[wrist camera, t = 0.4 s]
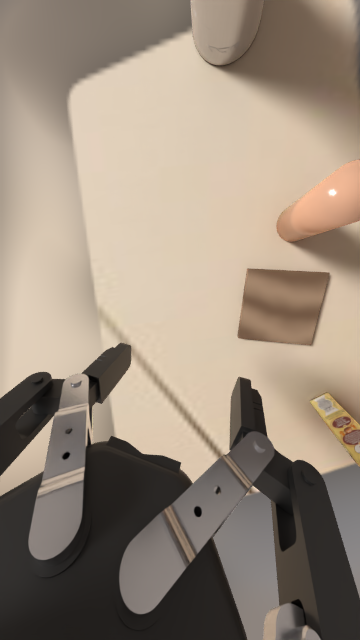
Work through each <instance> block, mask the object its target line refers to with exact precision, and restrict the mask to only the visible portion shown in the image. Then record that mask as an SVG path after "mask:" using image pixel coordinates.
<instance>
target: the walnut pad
mask: <svg viewBox="0 0 360 640" xmlns="http://www.w3.org/2000/svg"><path fill="white" fill-rule="evenodd" d="M328 277H329V273H327V272H306V271H286V270H265V269H247V274H246V281H245V288H244V295H243V302H242V309H241V316H240V323H239V330H238V338H242V339H252V340H263V341H273V342H284V343H294V344H304V345H311V343H312V339H313V335H314V331H315V327H316V323H317V320H318V316H319V312H320V308H321V304H322V300H323V296H324V293H325V289H326V285H327V281H328Z"/></svg>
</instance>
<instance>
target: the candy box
mask: <svg viewBox="0 0 360 640" xmlns="http://www.w3.org/2000/svg"><path fill="white" fill-rule="evenodd" d="M310 403H311V404H312V406H313V407H314V408H315V410H316V411H317V412H318V414H319V415H320V416H321V418H322V419H323V420H324V422H325V423H326V424H327V426H328V427H329V428H330V430H331V431H332V432H333V434H334V435H335V436H336V438H337V439H338V440H339V441H340V443H341V444H342V445H343V447H344V448H345V449H346V450H347V452H348V453H349V454H350V456H351V457H352V458H353V460H354V461H355V462H356V463H357V465H358V466H359V467H360V425H359V424H358V423H357V422H356V421H355V420H354V419H353V418H352V417H351V416H350V415H349V414H348V413H347V412H346V411H345V410H344V409H343V408H342V407H341V406H340V405H339V404H338V403H337V402H336V401H335V400H334V399H333V398H332V397H331V396H330V394H329V393H325V394H323V395H321V396H319V397H317V398H315V399H314V400H311V401H310Z"/></svg>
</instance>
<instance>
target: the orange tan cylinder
mask: <svg viewBox="0 0 360 640" xmlns="http://www.w3.org/2000/svg"><path fill="white" fill-rule="evenodd" d="M359 220H360V160H354V161H351V162H349V163H347V164H345V165H343V166H341V167H340V168H339V169H337V170H336V171H335V172H334V173H332V174H331V175H330V176H328V177H327V178H326V179H324V180H323V181H322V182H321V183H319V184H318V185H317V186H315V187H314V188H313V189H311V190H310V191H309V192H308V193H306V194H305V195H304V196H302V197H301V198H300V199H299V200H297V201H296V202H295V203H293V204H292V205H291V206H289V207H288V208H287V209H286V210H284V211H283V212H282V213H281V215H280V216H279V218H278V221H277V232H278V234H279V236H280V237H281V238H282V239H284V240H286V241H290V242H293V241H298V240H301V239H304V238H307V237H310V236H313V235H316V234H320V233H323V232H326V231H329V230H332V229H335V228H338V227H341V226H345V225H348V224H351V223H354V222H357V221H359Z"/></svg>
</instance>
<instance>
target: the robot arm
mask: <svg viewBox="0 0 360 640" xmlns="http://www.w3.org/2000/svg"><path fill="white" fill-rule="evenodd" d="M263 5H264V0H191V14H192V30H193V38H194V42H195V46H196V48H197V50H198V52H199V54H200V55H201V56H202V57H203V58H204V59H205V60H206V61H208V62H209V63H211V64H214V65H226V64H230V63H232V62H234V61H236V60H237V59H238V58H240V57H241V56H242V55H243V54H244V53H245V52H246V51H247V49H248V48H249V47H250V45H251V43H252V42H253V40H254V38H255V36H256V33H257V31H258V27H259V23H260V19H261V15H262V10H263ZM130 364H131V345H128V344H124V343H120V344H118V345H117V346H116V347H115V348H113V347H112V348H110V349H108V350H106V351H105V352H104V353H103V354H101V356H99V357H98V358H97V360H95V361H94V362H93V363H92V364H91V365H90V366H89V367H88V368H87V369H86V370H85V371H84V372H82V373H81V374H75V375H72V376H70V377H68V378H67V379H52V377H51V375H50V374H49V373H47V372H38V373H35V374H32V375H31V376H29V377H27V378H26V379H25V380H23V381H22V382H21V383H20V384H18V385H17V386H16V387H15V388H13V389H12V390H11V391H9V392H8V393H7V394H5V395H4V396H3V397H2V398H1V399H0V476H1V475H2V474H3V472H4V471H5V470H6V469H7V468H8V467H9V466H10V464H11V463H12V462H13V461H14V460H15V459H16V458H17V457H18V456H19V454H20V453H21V452H22V451H23V450H24V449H25V448H26V446H27V445H28V444H29V443H30V442H31V441H32V440H33V439H34V437H35V436H36V435H37V434H38V433H39V432H40V431H41V430H42V428H43V427H44V426H45V425H46V424H47V423H48V422H49V420H50V419H51V418H52V417H53V416H54V420H53V425H52V430H51V436H50V441H49V446H48V452H47V458H46V463H45V469H44V471H43V472H41V473H40V474H38V475H36V476H35V477H33V478H31V479H30V480H28V481H26V482H24V483H22V484H21V485H19V486H18V487H16V488H14V489H12V490H10V491H9V492H7V493H5V494H3V495H2V496H0V640H247V637H246V633H245V630H244V627H243V624H242V621H241V618H240V615H239V612H238V609H237V607H236V604H235V601H234V598H233V595H232V592H231V589H230V586H229V583H228V580H227V578H226V575H225V572H224V569H223V566H222V563H221V560H220V557H219V554H218V551H217V548H216V546H215V543H214V540H213V537H214V536H215V534H216V533H217V532H218V530H219V529H220V528H221V526H222V525H223V524H224V522H225V521H226V520H227V518H228V517H229V516H230V514H231V513H232V512H233V510H234V509H235V508H236V506H237V505H238V504H239V502H240V501H241V500H242V499H243V497H244V496H245V495H246V493H247V492H248V491H249V490H250V488H251V487H252V486H254V487H256V488H257V489H258V490H259V491H261V492H262V493H263V494H265V495H266V496H267V497H268V498H270V499H271V507H272V519H273V531H274V543H275V556H276V567H277V580H278V592H279V605H280V606H278V607H275V608H273V609H271V610H270V611H269V612H268V614H267V615H266V618H265V623H264V638H263V640H360V598H359V595H358V591H357V588H356V585H355V582H354V578H353V575H352V571H351V568H350V565H349V561H348V558H347V555H346V552H345V548H344V545H343V541H342V538H341V535H340V532H339V528H338V525H337V521H336V518H335V515H334V511H333V508H332V505H331V501H330V498H329V495H328V491H327V488H326V485H325V482H324V480H323V478H322V476H321V475H320V473H319V472H318V471H317V470H316V469H315V468H314V467H313V466H312V465H311V464H309V463H307V462H305V461H303V460H296V461H295V462H292V461H291V460H289V459H288V458H286V457H284V456H283V455H281V454H280V453H279V452H278V451H276V450H275V449H274V447H273V444H272V443H271V441H270V440H269V439H268V437H267V432H266V425H265V418H264V412H263V406H262V399H261V396H260V394H259V393H258V391H257V390H255V389H252V388H251V380H249V379H245V378H242V377H238V379H237V382H236V385H235V387H234V390H233V392H232V396H231V414H230V450H231V451H230V452H229V453H228V454H227V455H223V456H221V457H220V458H219V459H218V460H217V461H216V462H215V463H214V464H213V465H212V466H211V467H210V468H209V469H208V470H207V471H206V472H205V473H204V474H203V475H202V476H201V477H199V478H198V479H197V480H196V481H195V482H194V483H192V481H191V480H190V479H189V477H188V476H187V475H186V474H185V473H184V472H183V471H182V470H181V469H180V465H181V462H178V461H176V460H173V459H170V458H168V457H165V456H161V455H147V454H142V453H141V452H139V451H138V450H137V449H136V448H134V447H133V446H132V445H131V444H129V443H128V442H126V441H124V440H121V439H118V438H116V437H113V436H111V437H110V439H109V441H104V442H97V443H94V444H93V405H94V404H95V402H98V403H101V404H102V403H103V401H104V400H105V399H106V398H107V396H108V395H109V394H110V392H111V391H112V390H113V388H114V387H115V386H116V384H117V383H118V382H119V380H120V379H121V378H122V376H123V375H124V374H125V373H126V371H127V370H128V368H129V367H130ZM30 407H31V408H30Z"/></svg>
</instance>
